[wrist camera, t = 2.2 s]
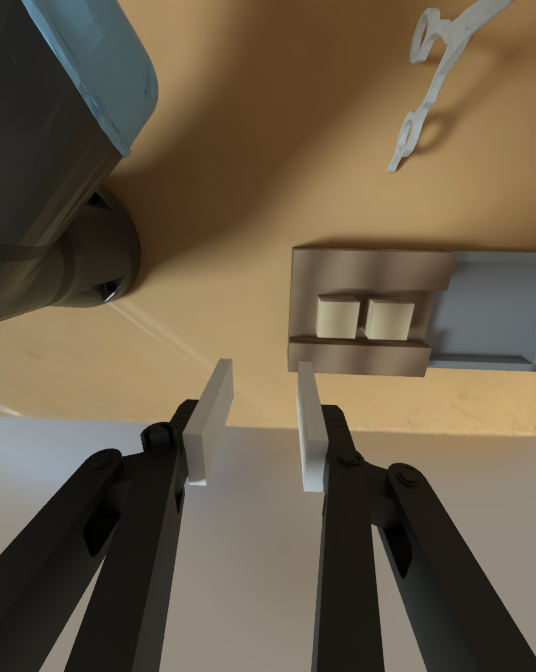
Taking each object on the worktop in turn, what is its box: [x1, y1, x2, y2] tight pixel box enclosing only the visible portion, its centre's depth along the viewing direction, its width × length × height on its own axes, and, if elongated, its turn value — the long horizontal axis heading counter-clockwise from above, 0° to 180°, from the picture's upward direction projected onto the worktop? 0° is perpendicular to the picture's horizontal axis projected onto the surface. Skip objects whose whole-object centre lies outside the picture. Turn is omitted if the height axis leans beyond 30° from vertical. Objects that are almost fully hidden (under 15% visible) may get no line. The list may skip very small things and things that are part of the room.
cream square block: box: [315, 295, 360, 338], centre depth 29 cm, size 4×4×3 cm
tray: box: [423, 250, 536, 372], centre depth 31 cm, size 14×14×2 cm
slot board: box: [288, 247, 457, 377], centre depth 31 cm, size 16×14×5 cm
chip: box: [361, 296, 414, 340], centre depth 29 cm, size 4×4×3 cm
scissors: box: [388, 0, 515, 172], centre depth 17 cm, size 11×1×20 cm, turn 179°
